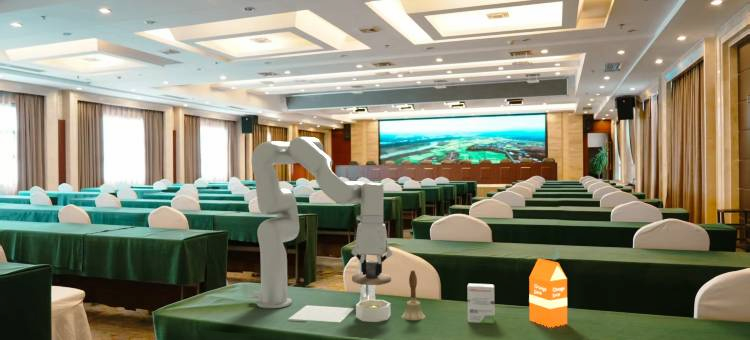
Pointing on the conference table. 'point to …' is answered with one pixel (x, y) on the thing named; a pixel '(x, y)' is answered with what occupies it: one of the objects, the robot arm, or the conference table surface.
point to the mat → (321, 314)
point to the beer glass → (366, 288)
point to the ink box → (481, 303)
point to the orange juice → (548, 294)
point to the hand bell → (413, 302)
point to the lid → (371, 276)
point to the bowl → (373, 310)
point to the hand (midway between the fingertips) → (371, 274)
